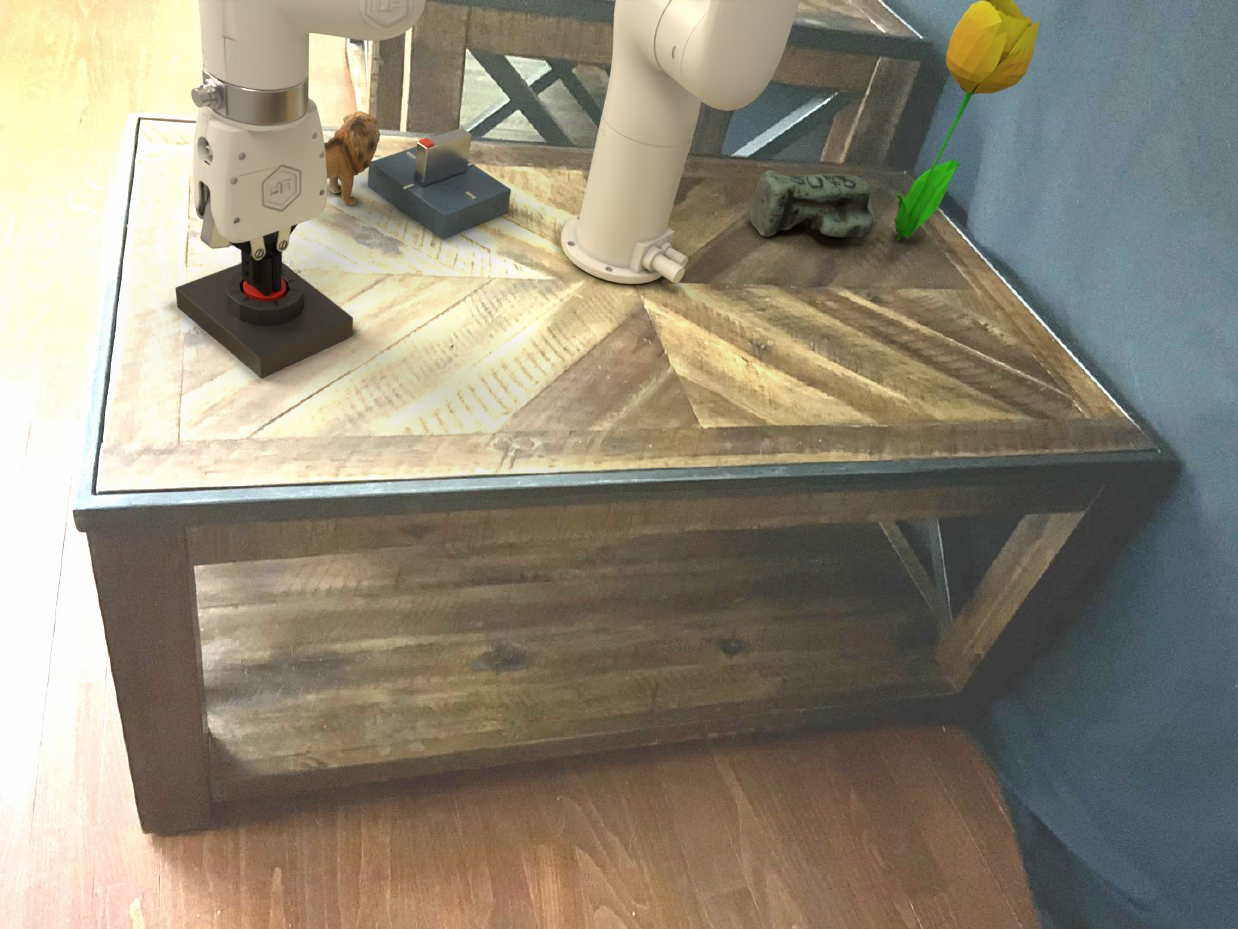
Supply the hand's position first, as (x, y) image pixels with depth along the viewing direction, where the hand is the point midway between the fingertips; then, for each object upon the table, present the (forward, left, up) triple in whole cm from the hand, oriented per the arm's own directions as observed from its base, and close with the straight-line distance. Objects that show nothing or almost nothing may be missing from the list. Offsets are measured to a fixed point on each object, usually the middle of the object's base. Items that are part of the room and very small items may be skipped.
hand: (262, 284), depth 90 cm
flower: (-30, -73, -4) cm, 79 cm away
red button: (0, 0, -2) cm, 2 cm away
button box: (0, 0, -4) cm, 4 cm away
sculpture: (-21, -63, -4) cm, 67 cm away
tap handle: (+7, -28, -1) cm, 29 cm away
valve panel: (+7, -28, -4) cm, 29 cm away
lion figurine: (+14, -17, -4) cm, 23 cm away
